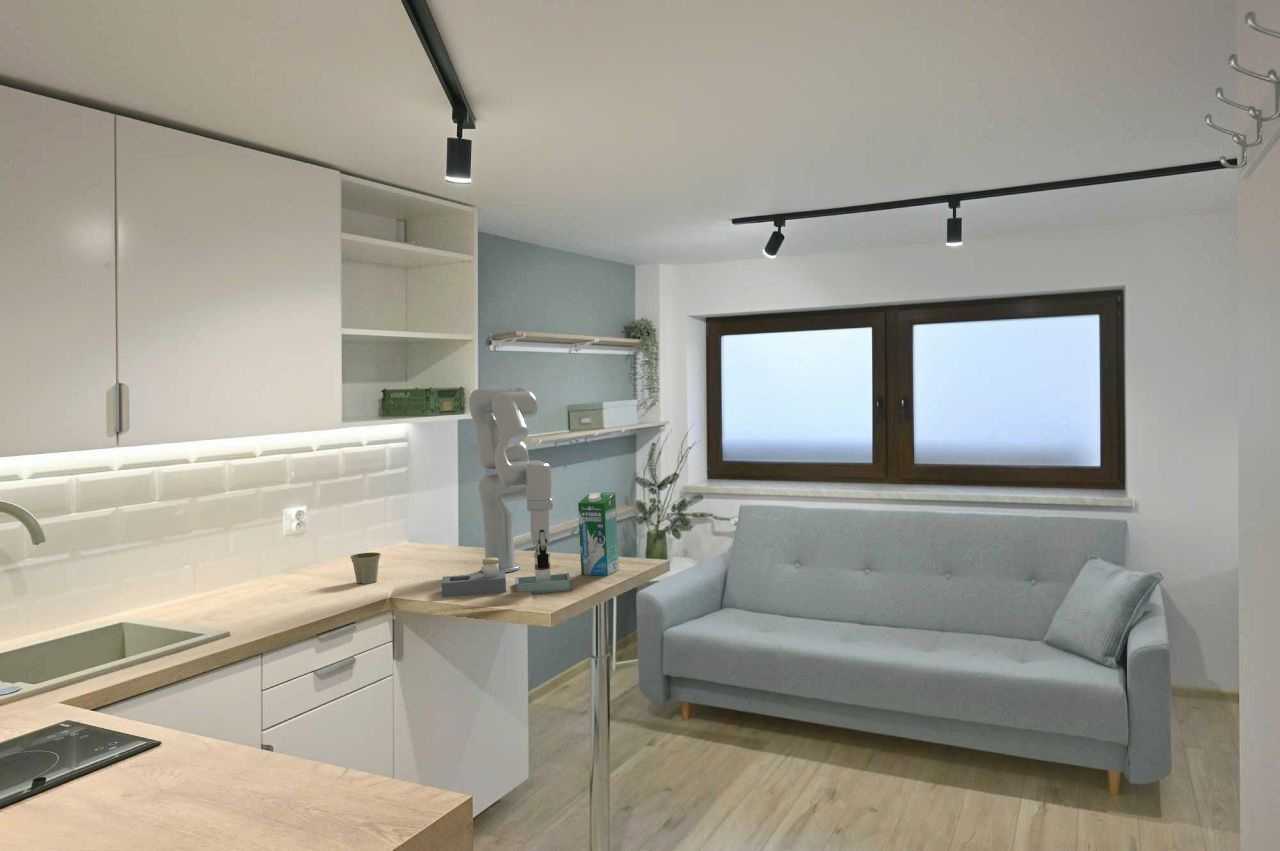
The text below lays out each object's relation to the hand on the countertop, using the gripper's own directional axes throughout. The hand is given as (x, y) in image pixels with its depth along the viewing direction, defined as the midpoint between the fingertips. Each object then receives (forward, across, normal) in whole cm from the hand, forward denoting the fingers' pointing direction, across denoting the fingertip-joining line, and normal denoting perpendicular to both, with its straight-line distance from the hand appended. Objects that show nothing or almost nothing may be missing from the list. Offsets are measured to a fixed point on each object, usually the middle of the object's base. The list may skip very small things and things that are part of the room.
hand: (542, 565), depth 261 cm
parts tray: (+7, 0, 0) cm, 7 cm away
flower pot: (+7, -30, -54) cm, 62 cm away
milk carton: (+7, -17, +19) cm, 27 cm away
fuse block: (+7, 0, -20) cm, 21 cm away
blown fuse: (+6, 0, 0) cm, 6 cm away
